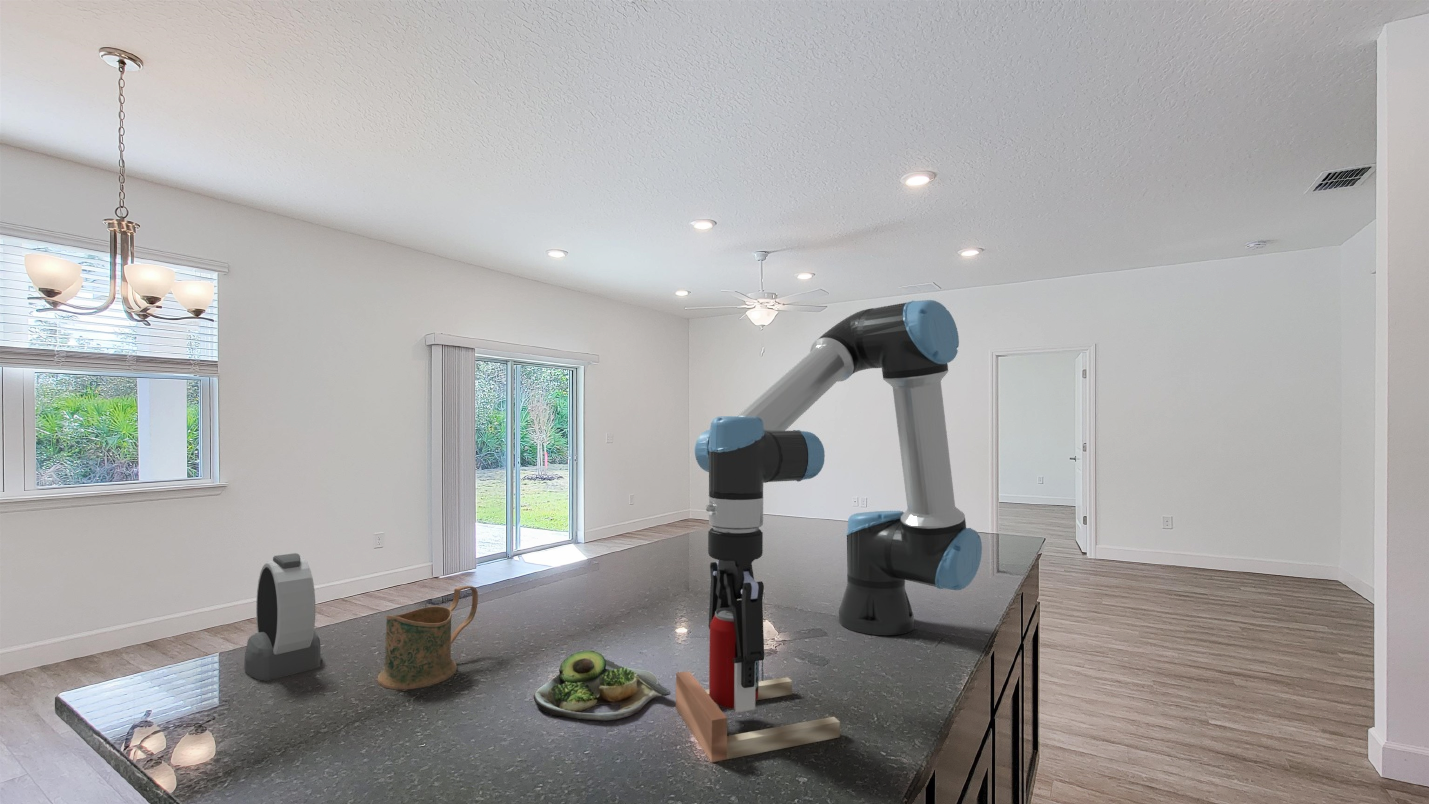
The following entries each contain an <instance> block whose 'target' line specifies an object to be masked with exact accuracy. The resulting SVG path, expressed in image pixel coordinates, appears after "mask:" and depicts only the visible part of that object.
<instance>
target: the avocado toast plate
mask: <svg viewBox="0 0 1429 804" xmlns="http://www.w3.org/2000/svg"><path fill="white" fill-rule="evenodd" d="M558 671H559V673H558V675H556V676H555V677H554V678H552V679H550V681H547V682H546V683H545V684H543V685H541V686H540V687H539V688H537V690H536V691H535V692H534V695H533V699H534V702H535V704H536V706H537V707H538V708H539V709H540V710H542V711H543V712H544V713H547V714H549V715H552V716H557V717H564V718H571V719H578V720H590V721H614V720H620V719H623V718H627V717H630V716H633V715H634V714H636V713H638V712H639V711H641V710H642V709H643V708H644V707H645V705H646V704H648V703H649V702H650V701H651V700H652V699H654V698H657V697H666V696H670V695H671V694H672V693H671V692H672V691H671V690H669V689H667V688H665V687H664V686H662V685H660V684H659V682H660V681H659V679H658V678H657V676H656V674H654V673H653V672H651V671H650V670H644V669H637V668H630V667H629V668H628V667H626V666H621V665H618V664H616V663H615V662H614V661H611V660H608V659H605V656H604V655H603V654H602V653H600V652H598V651H595V650H582V651H577V652H575V653H573V654H571V655H570V656H568V657H566V658H565V659H564V660H563V661H562V662H561V663H560V667H559V669H558ZM607 704H608V705H609V704H610V705H612V706H614V705H620V707H619V709H618V710H612V711H606V712H598V713H593V712H592V713H591V712H590V713H589V712H582V711H584V710H588V709H590V708H592V707H594V706H595V707H596V706H598V705H607Z"/></svg>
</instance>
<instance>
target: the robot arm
mask: <svg viewBox="0 0 1429 804" xmlns="http://www.w3.org/2000/svg"><path fill="white" fill-rule="evenodd" d="M959 337H960V336H959V331H958V327H957V324H956V321H955V319H954V317H953V315H952V314H951V312H950V311H949V310H948V309H947V307H946V306H945V305H944V304H942V303H941V302H940V301H936V300H932V299H925V300H911V301H908V302H907V301H906V302H902V303H897V304H890V305H885V306H879V307H873V308H867V309H862V310H859V311H856V312H855V313H853V314H850V315H849V316H848V317H845V318H844V319H842V320H840V321H839V322H838V323H836V324H835V325H834V326H832V327H831V328H830V329H828V330H827V331H825V332H824V333H823V334H822V335H821V336H820V337H819V338H817V339H816V340H815V341H814V342H813V343H812V344H811V347H810V349H809V351H810V352H809V353H808V354H807V355H806V356H805V357H803V358H802V359H801V360H800V361H799V362H797V363H796V364H795V365H794V366H793V367H792V368H790V369H789V370H788V372H786V373H785V374H783V375H782V377H780V378H779V379H778V380H777V381H776V382H775V383H774V384H773V385H771V386H770V387H769V388H768V389H766V390H765V391H764V392H763V393H762V394H761V395H760V396H759V397H757V398H756V399H755V400H754V401H753V402H751V404H749V405H748V406H747V407H746V408H745V409H744V410H743V411H742V412H740V413H738V414H737V416H732V415H731V416H716V417H715V418H713V419H712V420H711V422H710V425H709V426H710V427H709V429H708V430H707V429H706V430H705V431H704V432H702V433H701V434H700V435H699V436H698V438H697V440H696V442H695V446H694V457H695V461H696V462H697V465H698V466H699V467H700V469H702V470H703V471H704V472H707V473H708V504H707V505H705V511H706V512H708V524H709V525H710V526H711V527H710V529H709V530H708V531H707V553H708V555H709V557H710V558H712V559H715V560H718V561H711V562H710V564H709V569H710V570H709V571H710V592H709V610H708V629H709V630H710V623H711V621H712V619H713V617H714V615H715V611H716V610H717V609H720V608H729V607H731V608H732V611H733V620H734V628H735V637H736V646H737V655H738V658H732V659H733V662H734V709H733V711H734V712H735V713H741V712H748V711H753V710H756V701H755V679H756V661H759V662H760V661H764V660H765V640H764V639H765V638H764V637H765V636H764V609H763V599H764V590H765V586H764V585H765V584H764V583H763V581H755V577H754V570H753V564H752V563H753V562H754V561H755V560H758V559H760V558H761V557H762V556H763V551H764V550H763V546H764V545H763V543H764V542H763V541H764V539H763V538H764V537H763V535H764V533H763V531H762V530H761V529H760V528H761V527H762V526H763V525H764V483H765V484H766V483H774V482H776V483H777V482H794V481H795V482H802V481H804V480H805V481H806V480H810V479H813V478H815V477H816V476H819V475H818V474H820V472H821V471H822V469H823V467H824V464H825V456H826V455H825V452H826V451H825V448H824V444H823V443H822V441H821V439H820V438H819V437H818V436H817V435H816V434H815V433H813V432H811V431H805V430H800V429H798V430H797V429H793V430H788V429H789V428H791V426H792V425H793V424H794V423H795V422H796V421H797V420H798V419H799V418H800V417H802V415H804V413H806V412H807V411H808V410H809V409H811V407H812V406H813V405H814V404H815V403H816V402H817V401H819V399H821V397H822V396H823V395H825V394H826V393H827V392H828V391H829V390H830V389H831V388H832V387H833V386H834V385H835V384H836V383H838V382H844V381H846V380H848V379H849V378H850V377H851V376H852V375H854V374H855V373H858V372H860V371H864V370H870V369H881V374H882V380H883V381H885V382H886V383H887V384H889V385H890V386H891V388H892V393H893V402H894V408H895V409H894V410H895V417H896V426H897V427H896V428H897V434H898V441H899V449H900V458H901V466H902V473H903V482H904V493H905V499H906V505H907V509H906V511H905V512H904V511H901V510H880V511H879V510H877V511H875V510H874V511H866V512H865V511H864V512H857V513H854V514H851V515H850V516H849V518H848V519H847V528H846V530H847V531H846V534H845V536H846V563H847V565H846V568H847V569H846V571H847V572H846V575H847V577H846V578H847V579H846V581H847V582H846V586H845V591H844V593H843V597H842V599H841V602H840V605H839V608H838V622H839V623H840V624H841V625H842V627H844V628H846V629H848V630H851V631H854V632H858V633H862V634H867V635H874V636H899V635H904V634H907V633H910V632H912V631H913V630H914V628H915V615H914V613H913V609H912V606H911V603H910V602H911V601H910V600H909V596H908V593H907V591H906V581H908V582H913V583H917V584H921V585H926V586H930V587H934V588H936V589H939V590H944V589H945V590H951V591H962V590H964V589H966V588H967V587H969V585H970V584H972V581H974V579H975V578H976V575H977V573H978V570H979V569H980V564H981V560H982V553H983V552H982V551H983V546H982V539H981V537H980V534H979V533H978V531H976V529H973V528H971V527H967V522H966V515H965V513H964V512H963V511H961V510H960V509H959V508H957V506H956V503H955V502H956V501H955V494H954V493H955V492H954V486H953V476H952V468H951V467H952V466H951V458H950V450H949V443H948V442H949V441H948V434H947V432H948V431H947V424H946V416H945V407H944V397H943V388H942V380H943V379H944V378H945V377H946V376H947V374H948V373H949V365H948V364H949V363H951V362H952V361H954V360H955V358H957V357H956V356H957V355H958V352H959V349H958V348H959V345H960V338H959Z"/></svg>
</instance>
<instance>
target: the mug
mask: <svg viewBox="0 0 1429 804" xmlns="http://www.w3.org/2000/svg"><path fill="white" fill-rule="evenodd" d="M468 589H469V590H471V596H472V597H471V598H472V601H471V608H470V611H469V614H468V617H467V618H466V619H465V620H464V621H463V622H462V623H461V624H460V625H459V626H457V628H456V629H455V630H454V631H453V632H452V618H453V617H452V613H453V611H454V610H455V609H456V608H457V606H458V603H459V600H460V594H461V592H462V591H464V590H468ZM453 591H454V593H453V600H452V602H451V604H450V605H449V607H446V606H439V605H437V606H436V605H434V606H433V605H432V606H425V607H421V608H417V609H415V610H411V611H408V612H404V613H401V614H396V615H395V614H394V615H386V617H385V619H386V621H385V622H386V624H385V626H386V627H385V646H384V651H385V652H384V653H385V655H384V656H385V657H384V668H383V669H382V670H381V671H380V672H379V674H378V676H377V683H378V684H379V686H381V687H382V688H385V689H390V690H413V689H420V688H425V687H430V686H433V685H435V684H439V683H441V682H443V681H446V680H448V679H450V678H452V676H454V675H455V673H457V664H456V662H455V661H454V660H453V659H452V658H451V657H452V656H451V654H452V653H451V651H452V650H451V649H452V648H451V647H452V644H453V643H454V642H455V640H456V638H457V637H458V635H459V634H460V633H461V632H462V631H463V630H464V629H465V628H466V627H467V626H469V624H471V622H472V621H473V620H474V618H475V615H476V613H477V609H478V602H479V593H478V590H477V588H476V587H475V586H472V585H462V586H459V587H456V588H454V589H453Z"/></svg>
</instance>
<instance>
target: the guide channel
mask: <svg viewBox="0 0 1429 804" xmlns="http://www.w3.org/2000/svg"><path fill="white" fill-rule="evenodd" d="M675 676H676V677H675V709H676V710H677V712H678V714H679V715H680V717H681V719H682V720H683V721H684V723H685V724H686V726H687V727H688V730H689V731H690V732H691V734H692V735H693V736H694V738H695V739H696V741H697V743H698V745H699V746H700V747H701V749H702V751H704V754H705V755H706V756H707V759H709V761H710V763H716V762H721V761H725V760H729V759H730V760H731V759H735V758H736V759H737V758H741V757H747V756H751V755H757V754H762V753H765V752H770V751H771V752H773V751H776V750H781V749H787V748H793V747H796V746H797V747H798V746H803V745H807V744H812V743H813V744H814V743H817V742H818V743H819V742H823V741H827V740H832V739H837V738H841V722H840V720H838V719H837V717H835V716H830V717H825V718H819V719H813V720H808V721H801V722H797V723H791V724H786V725H780V726H775V727H769V728H764V729H760V730H753V731H752V730H751V731H748V732H741V733H735V734H730V735H728V716H726V714H724V712H723V710H721V708H720V706H719V705H718V704H717V703H715V702H714V701H713V700H712V699H711V697H710V696H709V688H707V689H705V688H703V686H702V685H701V684H700V682H699V681H698V680H697V678H696V677H695V676H694V675H693V674H692V673H691V671H690V670H689V671H682V672H676V673H675ZM789 695H791V696H792V695H793V680H792V679H791V678H789V677H788V676H787V677H781V678H774V679H768V680H767V679H765V680H761V681H760V680H759V683H758V699H757V700H756V701H758V700H765V699H772V698H778V697H784V696H789Z"/></svg>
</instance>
